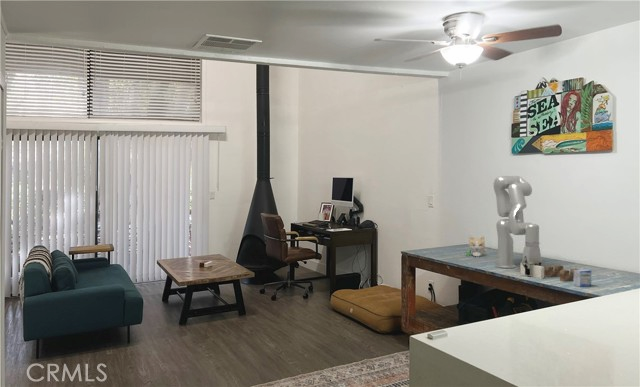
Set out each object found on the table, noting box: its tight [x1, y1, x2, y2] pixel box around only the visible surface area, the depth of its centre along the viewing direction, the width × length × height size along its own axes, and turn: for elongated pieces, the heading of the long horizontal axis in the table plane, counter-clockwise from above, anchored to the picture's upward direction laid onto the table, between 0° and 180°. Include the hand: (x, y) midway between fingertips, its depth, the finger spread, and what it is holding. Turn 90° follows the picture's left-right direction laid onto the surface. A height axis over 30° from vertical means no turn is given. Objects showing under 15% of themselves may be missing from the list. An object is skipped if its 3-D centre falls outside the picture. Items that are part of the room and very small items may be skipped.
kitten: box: [465, 235, 487, 258], centre depth 351 cm, size 15×10×15 cm
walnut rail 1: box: [544, 264, 564, 278], centre depth 281 cm, size 12×2×6 cm, turn 111°
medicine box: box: [573, 268, 592, 288], centre depth 257 cm, size 8×4×9 cm, turn 105°
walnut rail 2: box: [559, 268, 580, 282], centre depth 270 cm, size 12×2×6 cm, turn 111°
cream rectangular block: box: [520, 262, 545, 280], centre depth 282 cm, size 16×2×7 cm, turn 21°
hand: (531, 274), depth 282 cm, fingers open, 6 cm apart
